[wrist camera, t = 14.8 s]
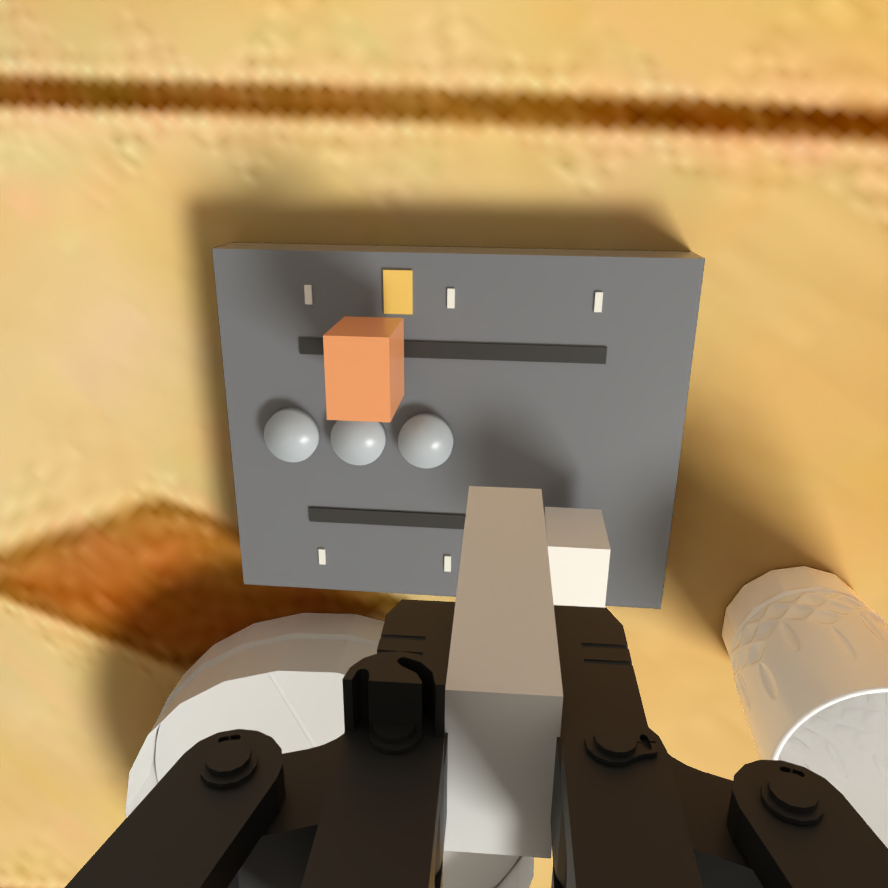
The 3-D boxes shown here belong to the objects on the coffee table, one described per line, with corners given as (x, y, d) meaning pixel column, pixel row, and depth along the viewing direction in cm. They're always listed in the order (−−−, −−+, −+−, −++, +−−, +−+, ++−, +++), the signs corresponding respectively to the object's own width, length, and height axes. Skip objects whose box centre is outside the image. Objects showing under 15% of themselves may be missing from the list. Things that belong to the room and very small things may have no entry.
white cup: (759, 713, 40) (832, 880, 31) (678, 605, 38) (729, 749, 29) (903, 642, 38) (1028, 800, 29) (825, 524, 36) (931, 652, 27)
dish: (440, 553, 39) (429, 607, 34) (594, 862, 45) (603, 943, 40) (91, 678, 44) (40, 740, 39) (273, 941, 50) (248, 1021, 45)
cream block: (540, 558, 35) (542, 617, 31) (544, 495, 34) (547, 546, 29) (592, 561, 35) (603, 620, 30) (598, 497, 34) (610, 549, 29)
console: (260, 559, 40) (239, 590, 37) (233, 242, 34) (206, 250, 31) (652, 581, 38) (662, 616, 35) (691, 251, 32) (708, 260, 29)
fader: (353, 384, 33) (326, 419, 29) (350, 310, 32) (322, 335, 27) (408, 386, 33) (390, 422, 28) (407, 312, 32) (388, 337, 27)
